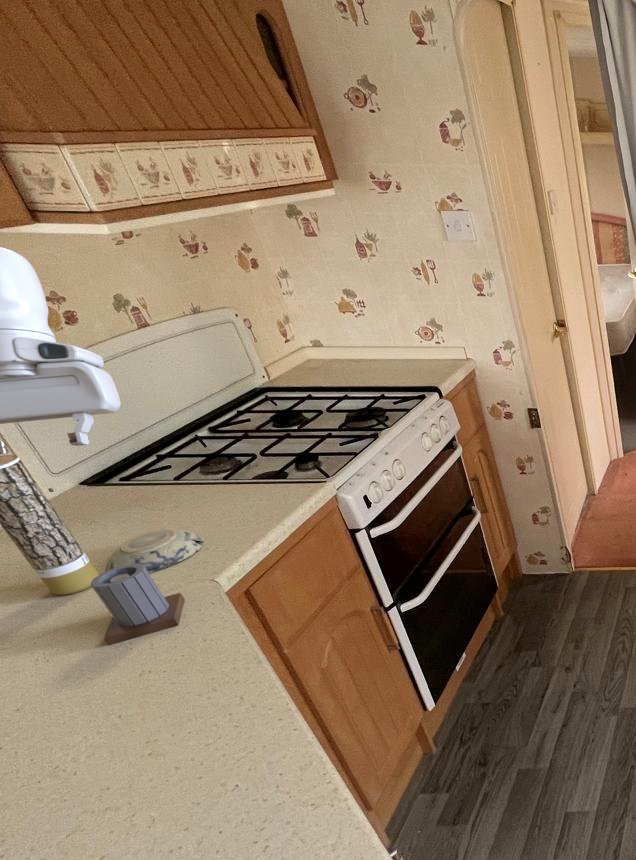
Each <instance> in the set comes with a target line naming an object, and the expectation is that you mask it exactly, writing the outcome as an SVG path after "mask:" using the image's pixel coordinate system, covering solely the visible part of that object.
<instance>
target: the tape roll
mask: <svg viewBox="0 0 636 860" xmlns="http://www.w3.org/2000/svg"><path fill="white" fill-rule="evenodd" d="M121 574H129V575H130V577H127V578H125V579H123V580H120V581H117V582H113V583H111V582H110V580H111V579H112V578H113V577H115V576H118V575H121ZM91 588H92V589H93V591H94V592H95V593H96V595H97V596H98V598H99V599H100V600H101V602H102V603H103V605H104V607H105V608H106V609H107V611H108V612H109V613H110V615H111V616H112V617H114V619H115V620H116V622H117V623H118V624H119V625H121V626H134V625H139V624H142V623H146V622H147V621H151V620H153V619H155V618H157V617H159V616H160V615H162V614H163V613H164V612H166V611H167V610H168V607H169V604H168V602H167V601H166V599H165V598H164V597H165V596H164V594H163V593H162V591H161V590H160V588H159V587H158V585H157V584H156V582H155V581H154V579H153V577H152V576H151V574H150V573H148V571H147V570H146V568H145V566H143V565H141V564H129V565H124V566H120V567H116V568H113V569H111V570H108V571H107V570H106V571H104V572H102V573H99V575H98V576H97V577H95V578H94V579H93V580H92V582H91Z"/></svg>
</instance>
